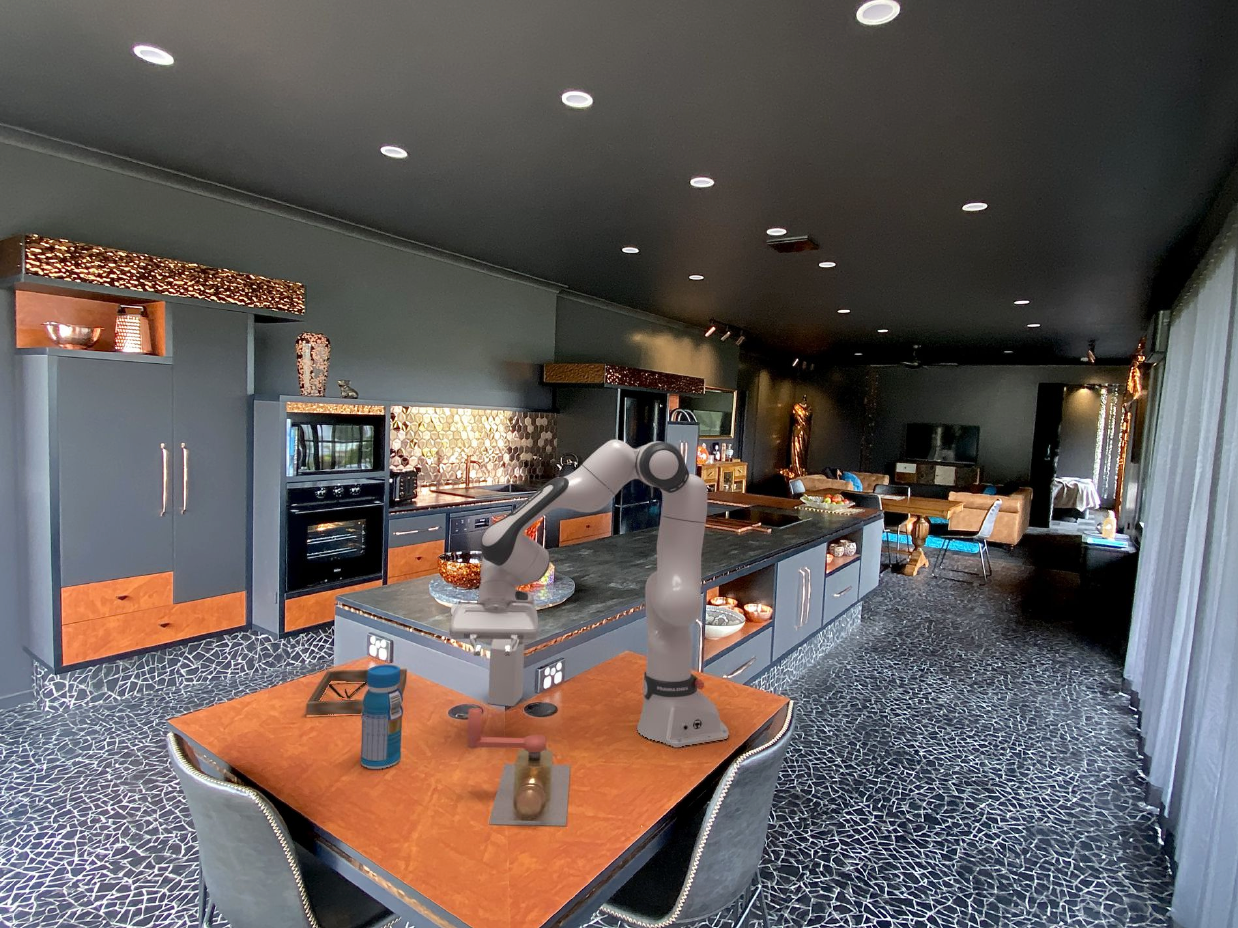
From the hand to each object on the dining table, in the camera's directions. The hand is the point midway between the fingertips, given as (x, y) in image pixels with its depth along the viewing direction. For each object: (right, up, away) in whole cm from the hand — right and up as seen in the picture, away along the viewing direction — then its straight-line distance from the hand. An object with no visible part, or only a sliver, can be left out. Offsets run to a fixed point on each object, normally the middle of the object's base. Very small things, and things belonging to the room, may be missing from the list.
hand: (492, 654), depth 152 cm
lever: (+6, -13, -18) cm, 23 cm away
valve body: (+11, -23, -17) cm, 31 cm away
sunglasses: (-41, -20, +30) cm, 54 cm away
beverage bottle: (-23, -21, -6) cm, 32 cm away
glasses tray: (-41, -20, +29) cm, 53 cm away
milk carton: (-2, -21, +31) cm, 38 cm away
